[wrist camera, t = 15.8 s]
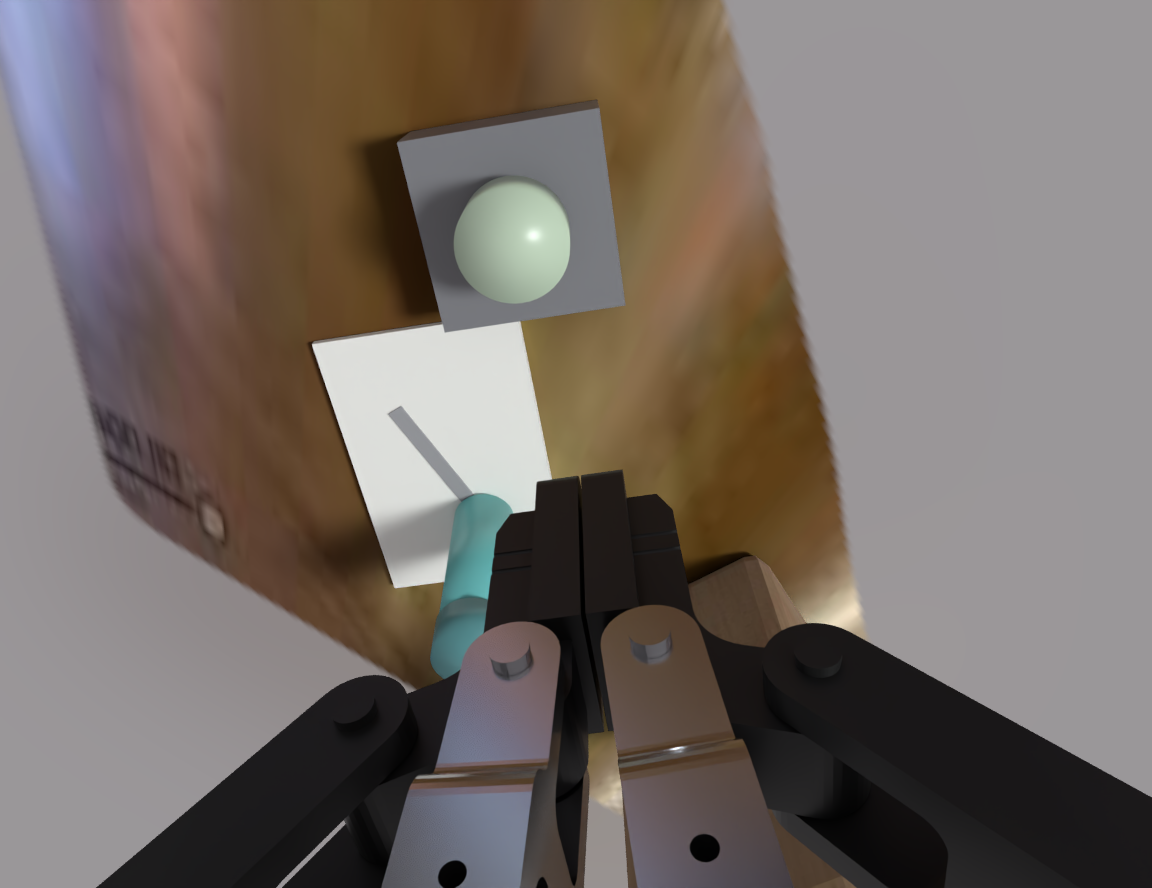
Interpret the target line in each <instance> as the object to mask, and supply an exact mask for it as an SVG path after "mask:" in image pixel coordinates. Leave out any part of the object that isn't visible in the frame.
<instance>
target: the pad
mask: <svg viewBox="0 0 1152 888" xmlns="http://www.w3.org/2000/svg"><path fill="white" fill-rule="evenodd" d="M312 347H313V350H314V353H315V355H316V358H317V361H318V364H319V367H320V370H321V373H322V376H323V379H324V382H325V385H326V388H327V391H328V394H329V397H330V399H331V402H332V405H333V408H334V411H335V414H336V417H337V420H338V423H339V426H340V429H341V432H342V435H343V438H344V441H345V443H346V446H347V449H348V452H349V455H350V458H351V461H352V464H353V467H354V470H355V473H356V476H357V479H358V482H359V485H360V487H361V490H362V493H363V496H364V499H365V502H366V505H367V508H368V511H369V514H370V517H371V520H372V523H373V526H374V529H375V531H376V534H377V537H378V540H379V543H380V546H381V549H382V552H383V555H384V558H385V561H386V564H387V567H388V570H389V573H390V575H391V578H392V581H393V584H394V587H395V588H400V587H408V586H416V585H423V584H431V583H439V582H444V580H445V574H446V567H447V561H448V554H449V548H450V541H451V535H452V528H453V522H454V515H455V511H456V509H457V507H458V505H459V504H460V503H461V502H462V501H463V500H465V499H466V498H468V497H470V496H473V495H478V494H488V495H493V496H496V497H499V498H501V499H502V500H504V501H505V502H506V503H507V504H508V505H509V506H510V507H511V509H512V511H513V513H520V512H527V511H534V510H535V499H536V484H537V481H544V480H551V479H552V477H551V472H550V467H549V462H548V457H547V452H546V447H545V442H544V437H543V432H542V427H541V422H540V417H539V412H538V407H537V402H536V397H535V392H534V387H533V382H532V377H531V372H530V367H529V362H528V357H527V352H526V347H525V343H524V338H523V333H522V328H521V323H520V321H518V322H512V323H505V324H499V325H492V326H485V327H479V328H472V329H466V330H459V331H452V332H446V333H445V332H444V328H443V324H442V322H437V323H430V324H424V325H417V326H411V327H404V328H398V329H391V330H384V331H378V332H371V333H365V334H358V335H352V336H345V337H339V338H332V339H326V340H319V341H314V342H313V343H312Z"/></svg>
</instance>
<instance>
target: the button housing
mask: <svg viewBox="0 0 1152 888" xmlns="http://www.w3.org/2000/svg"><path fill="white" fill-rule="evenodd" d="M397 145H398V149H399V153H400V157H401V161H402V165H403V169H404V173H405V177H406V181H407V185H408V189H409V193H410V197H411V201H412V205H413V209H414V213H415V216H416V220H417V224H418V228H419V232H420V236H421V240H422V244H423V248H424V252H425V256H426V260H427V264H428V268H429V272H430V276H431V280H432V284H433V288H434V292H435V296H436V300H437V304H438V308H439V312H440V316H441V320H442V324H443V328H444V332H445V333H446V332H452V331H459V330H466V329H472V328H479V327H485V326H492V325H499V324H505V323H512V322H518V321H525V320H531V319H538V318H545V317H551V316H558V315H564V314H571V313H578V312H584V311H591V310H597V309H604V308H611V307H617V306H624V305H625V299H624V292H623V284H622V276H621V269H620V261H619V254H618V246H617V239H616V231H615V224H614V216H613V208H612V201H611V193H610V186H609V178H608V171H607V163H606V155H605V148H604V140H603V133H602V125H601V118H600V110H599V105H598V102H597V100H592V101H587V102H581V103H575V104H569V105H563V106H557V107H551V108H546V109H540V110H534V111H528V112H522V113H516V114H510V115H504V116H499V117H493V118H487V119H481V120H475V121H469V122H463V123H458V124H452V125H446V126H440V127H434V128H428V129H422V130H417V131H411V132H409V133H408V134H407V135H405V136H404V137H403V138H402V139H400V140H399V141H398V142H397ZM512 175H514V176H524V177H528V178H532V179H535V180H537V181H539V182H541V183H542V184H544V185H546V186H547V187H548V188H549V189H551V190H552V191H553V192H554V193H555V194H556V195H557V197H558V198H559V199H560V201H561V202H562V204H563V206H564V208H565V210H566V212H567V215H568V219H569V223H570V256H569V261H568V265H567V268H566V270H565V272H564V274H563V276H562V278H561V279H560V281H559V282H558V283H557V284H556V286H555V287H554V288H553V289H551V290H550V291H549V292H548V293H546V294H545V295H543V296H542V297H540V298H538V299H535V300H533V301H530V302H525V303H517V304H512V303H503V302H499V301H495V300H492V299H490V298H488V297H486V296H484V295H482V294H481V293H479V292H478V291H477V290H475V289H474V288H473V287H472V286H471V285H470V284H469V283H468V281H467V280H466V279H465V278H464V276H463V274H462V273H461V271H460V269H459V267H458V264H457V261H456V258H455V253H454V234H455V230H456V226H457V223H458V221H459V219H460V217H461V215H462V213H463V211H464V209H465V207H466V205H467V203H468V201H469V200H470V198H471V197H472V196H473V194H474V193H475V192H476V191H477V190H478V189H479V188H480V187H482V186H483V185H484V184H486V183H488V182H489V181H491V180H494V179H496V178H499V177H503V176H512Z"/></svg>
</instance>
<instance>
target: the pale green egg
mask: <svg viewBox="0 0 1152 888" xmlns="http://www.w3.org/2000/svg"><path fill="white" fill-rule="evenodd" d="M454 253H455V258H456V261H457V264H458V267H459V269H460V271H461V273H462V274H463V276H464V278H465V279H466V280H467V281H468V283H469V284H470V285H471V286H472V287H473V288H474V289H475V290H477V291H478V292H479V293H481V294H482V295H484V296H486V297H488V298H490V299H492V300H495V301H499V302H503V303H512V304H517V303H525V302H530V301H533V300H535V299H538V298H540V297H542V296H543V295H545V294H546V293H548V292H549V291H550V290H551V289H553V288H554V287H555V286H556V284H557V283H558V282H559V281H560V279H561V278H562V276H563V274H564V272H565V270H566V268H567V265H568V261H569V256H570V223H569V219H568V215H567V212H566V210H565V208H564V206H563V204H562V202H561V201H560V199H559V198H558V197H557V195H556V194H555V193H554V192H553V191H552V190H551V189H549V188H548V187H547V186H546V185H544V184H542V183H541V182H539V181H537V180H535V179H532V178H528V177H524V176H514V175H512V176H503V177H499V178H496V179H494V180H491V181H489V182H488V183H486V184H484V185H483V186H482V187H480V188H479V189H478V190H477V191H476V192H475V193H474V194H473V196H472V197H471V198H470V200H469V201H468V203H467V205H466V207H465V209H464V211H463V213H462V215H461V217H460V219H459V221H458V223H457V226H456V230H455V234H454Z"/></svg>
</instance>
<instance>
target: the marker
mask: <svg viewBox="0 0 1152 888" xmlns="http://www.w3.org/2000/svg"><path fill="white" fill-rule="evenodd" d="M512 513H513V511H512V509H511V507H510V506H509V505H508V504H507V503H506V502H505V501H504V500H502V499H501V498H499V497H496V496H493V495H488V494H478V495H473V496H470V497H468V498H466V499H465V500H463V501H462V502H461V503H460V504H459V505H458V507H457V509H456V511H455V515H454V522H453V528H452V535H451V541H450V548H449V554H448V561H447V567H446V574H445V580H444V587H443V593H442V600H441V606H440V612H439V614H438V616H437V619H436V624H435V630H434V636H433V643H432V649H431V656H430V659H431V664H432V667H433V669H434V670H435V671H436V673H437V674H438V675H439V676H441V677H442V678H443V679H446V678H448V677H450V676H451V675H453V674H455V673H456V672H458V671H459V670H460V669H461V665H462V661H463V658H464V655H465V653H466V651H467V649H468V648H469V646H470V645H471V644H472V643H473V642H474V641H475V640H476V639H477V638H478V637H479V636H480V635H482V634H483V633H484V625H485V617H486V610H487V602H488V594H489V586H490V578H491V575H492V563H493V558H494V547H495V540H496V533H497V532H498V530H499V529H500V527H501V526H502V525H503V523H504V522H505V521H506V519H507V518H508V516H509V515H510V514H512Z"/></svg>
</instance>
